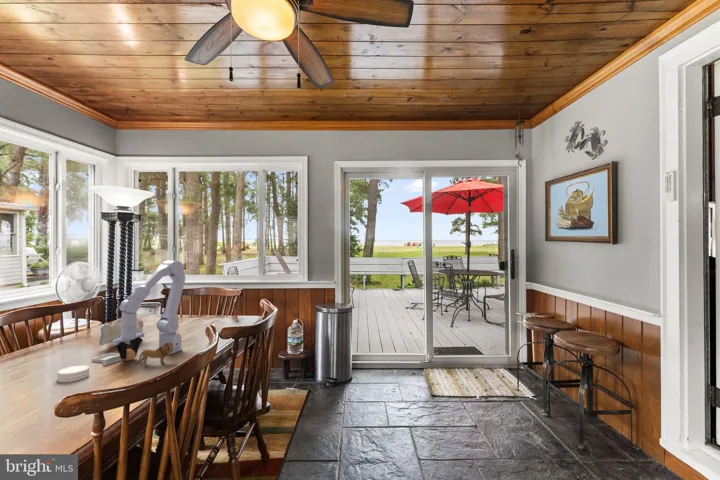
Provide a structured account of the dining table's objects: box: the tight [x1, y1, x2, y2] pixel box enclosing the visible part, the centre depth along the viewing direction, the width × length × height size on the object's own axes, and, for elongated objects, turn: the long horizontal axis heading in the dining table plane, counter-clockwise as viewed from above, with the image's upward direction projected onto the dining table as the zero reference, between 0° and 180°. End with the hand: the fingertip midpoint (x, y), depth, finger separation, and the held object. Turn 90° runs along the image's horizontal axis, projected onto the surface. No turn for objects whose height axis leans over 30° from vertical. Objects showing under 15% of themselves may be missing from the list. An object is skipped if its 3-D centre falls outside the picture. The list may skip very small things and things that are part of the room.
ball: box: [124, 348, 136, 362], centre depth 162 cm, size 5×5×5 cm
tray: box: [91, 352, 119, 364], centre depth 163 cm, size 9×9×1 cm
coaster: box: [56, 365, 90, 383], centre depth 141 cm, size 10×10×4 cm
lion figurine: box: [134, 342, 174, 367], centre depth 157 cm, size 15×5×9 cm, turn 117°
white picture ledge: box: [102, 353, 137, 367], centre depth 162 cm, size 2×15×2 cm, turn 165°
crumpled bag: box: [98, 317, 144, 346], centre depth 186 cm, size 16×19×15 cm
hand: (128, 356), depth 162 cm, fingers closed on ball, 5 cm apart
